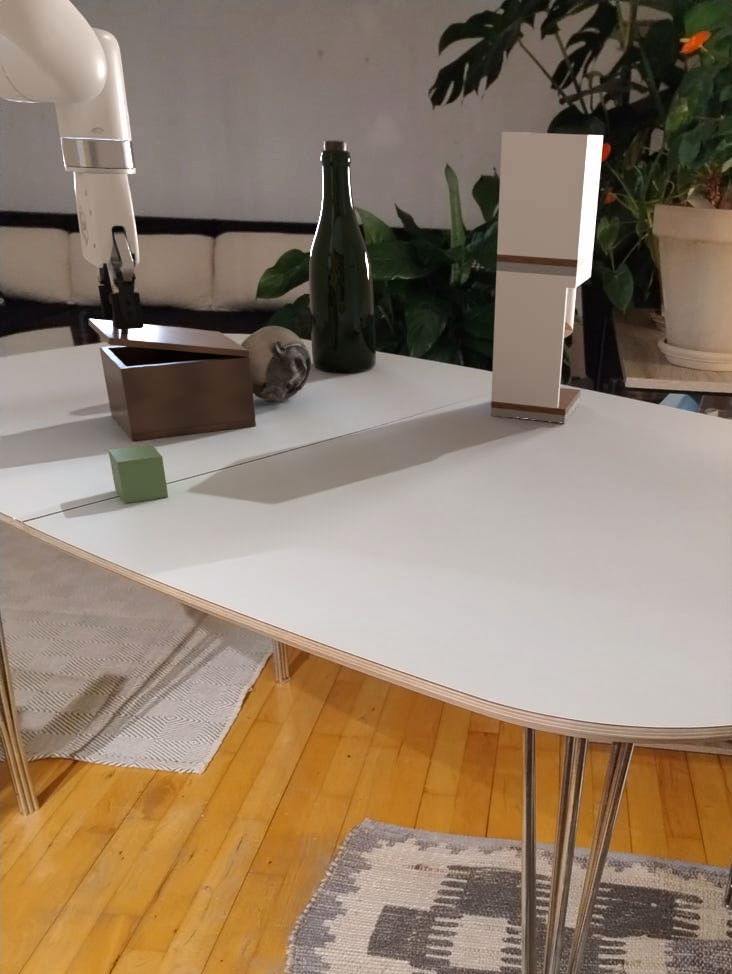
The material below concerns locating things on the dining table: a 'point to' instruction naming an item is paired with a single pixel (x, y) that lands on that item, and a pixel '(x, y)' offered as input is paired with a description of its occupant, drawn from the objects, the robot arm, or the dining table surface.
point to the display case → (541, 267)
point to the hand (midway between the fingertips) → (123, 322)
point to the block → (138, 473)
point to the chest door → (167, 338)
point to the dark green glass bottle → (340, 275)
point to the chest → (177, 391)
